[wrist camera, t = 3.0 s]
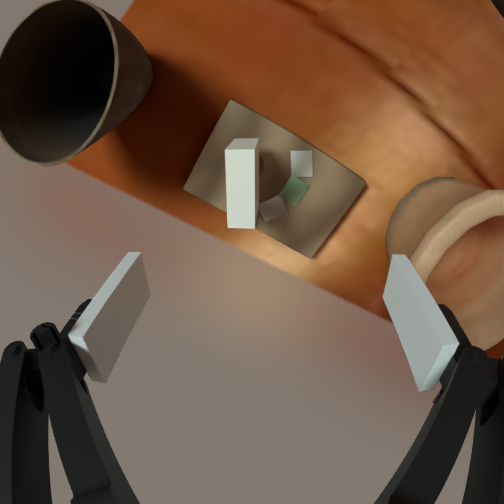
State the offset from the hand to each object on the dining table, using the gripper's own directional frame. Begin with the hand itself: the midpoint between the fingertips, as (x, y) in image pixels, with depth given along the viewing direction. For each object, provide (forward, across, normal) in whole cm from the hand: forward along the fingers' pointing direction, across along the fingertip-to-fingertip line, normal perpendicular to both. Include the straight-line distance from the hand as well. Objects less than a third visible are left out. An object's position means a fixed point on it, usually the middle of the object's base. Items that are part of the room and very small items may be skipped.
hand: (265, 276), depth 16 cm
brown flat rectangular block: (+23, 0, -1) cm, 23 cm away
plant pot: (+24, -18, +13) cm, 32 cm away
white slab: (+21, -2, -1) cm, 21 cm away
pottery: (+23, +24, -8) cm, 34 cm away
